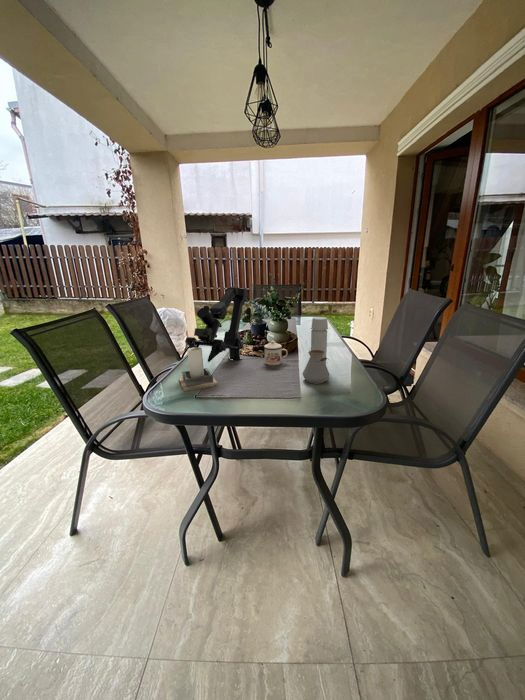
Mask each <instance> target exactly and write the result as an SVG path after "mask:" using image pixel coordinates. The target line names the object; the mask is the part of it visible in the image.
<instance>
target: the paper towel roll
mask: <svg viewBox="0 0 525 700" xmlns="http://www.w3.org/2000/svg"><path fill="white" fill-rule="evenodd" d="M187 359H188V368H189V369H188V371H190V379H192V378H197V377H203V376H204V357H203V348H202V347H196V348H190V347H189V348H188V349H187Z"/></svg>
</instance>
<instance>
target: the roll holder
mask: <svg viewBox="0 0 525 700" xmlns="http://www.w3.org/2000/svg"><path fill="white" fill-rule="evenodd" d="M178 380H179V383H180V385H181V387H182V389H183V391H184V392H188V391H192V390H199V389H204V388H208V387H209V386H210V387H215V386H214V385H216V386H219V385H218V384H219V383H218V381H217V380H216V379H215V378H214V376H213V374H212V373H211V371H209V368H208V367H207V368H206V367H205V368H204V376H203V377H197V378H192V379H190V370H186V371H182V376H181V377H178Z"/></svg>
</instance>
